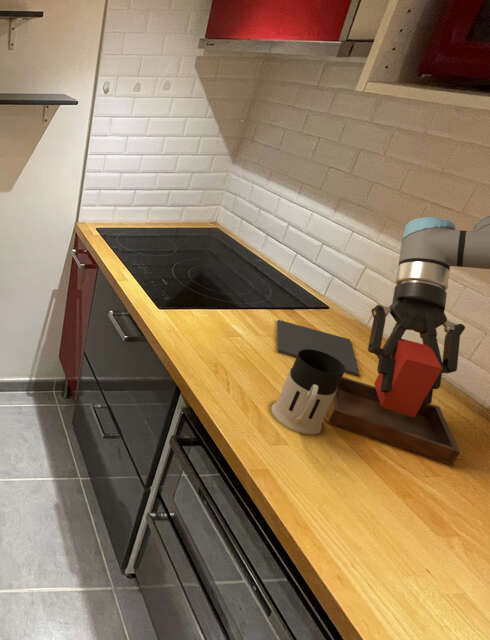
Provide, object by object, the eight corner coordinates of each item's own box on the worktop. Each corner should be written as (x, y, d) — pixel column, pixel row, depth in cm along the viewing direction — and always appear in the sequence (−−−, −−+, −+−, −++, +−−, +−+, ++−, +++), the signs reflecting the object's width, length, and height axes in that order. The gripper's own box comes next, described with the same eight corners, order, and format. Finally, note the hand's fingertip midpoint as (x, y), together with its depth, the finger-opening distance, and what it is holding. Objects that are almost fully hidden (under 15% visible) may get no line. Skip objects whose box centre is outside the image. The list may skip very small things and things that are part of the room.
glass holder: (322, 415, 94) (350, 359, 88) (318, 459, 84) (348, 399, 78) (274, 396, 99) (296, 341, 93) (264, 435, 89) (288, 377, 83)
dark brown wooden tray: (431, 419, 94) (439, 406, 93) (451, 466, 84) (460, 452, 82) (322, 384, 103) (328, 372, 102) (327, 422, 93) (334, 409, 91)
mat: (348, 341, 118) (350, 339, 118) (357, 376, 106) (358, 373, 106) (277, 321, 126) (278, 319, 126) (277, 351, 114) (278, 349, 113)
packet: (405, 392, 93) (430, 346, 88) (414, 417, 86) (442, 368, 82) (373, 383, 95) (397, 337, 90) (380, 406, 89) (406, 358, 84)
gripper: (471, 306, 91) (459, 418, 85) (357, 282, 100) (339, 381, 94) (494, 295, 85) (482, 415, 79) (371, 270, 94) (352, 376, 88)
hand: (405, 396), depth 86 cm, fingers closed on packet, 5 cm apart
